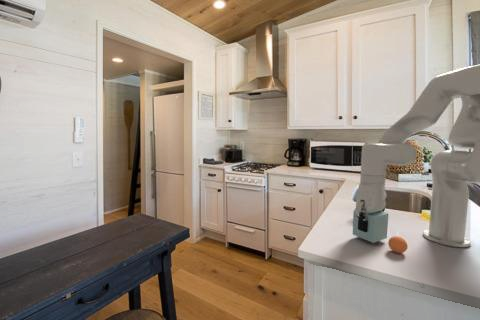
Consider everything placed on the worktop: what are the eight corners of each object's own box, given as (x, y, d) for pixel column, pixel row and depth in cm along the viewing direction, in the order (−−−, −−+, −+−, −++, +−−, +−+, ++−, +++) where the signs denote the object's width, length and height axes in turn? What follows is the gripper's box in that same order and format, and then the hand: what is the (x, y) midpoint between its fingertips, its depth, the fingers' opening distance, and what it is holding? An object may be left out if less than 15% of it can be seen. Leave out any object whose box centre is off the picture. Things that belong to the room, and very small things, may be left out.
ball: (414, 246, 71) (403, 254, 74) (402, 232, 75) (391, 240, 78) (404, 249, 69) (393, 257, 72) (391, 234, 73) (381, 242, 76)
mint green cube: (365, 230, 87) (366, 207, 86) (386, 237, 81) (388, 213, 80) (352, 234, 84) (353, 210, 83) (373, 242, 77) (374, 217, 76)
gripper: (376, 175, 87) (374, 220, 89) (346, 180, 79) (344, 229, 81) (398, 178, 81) (395, 227, 83) (367, 183, 73) (364, 237, 74)
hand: (370, 228), depth 82 cm, fingers closed on mint green cube, 7 cm apart
